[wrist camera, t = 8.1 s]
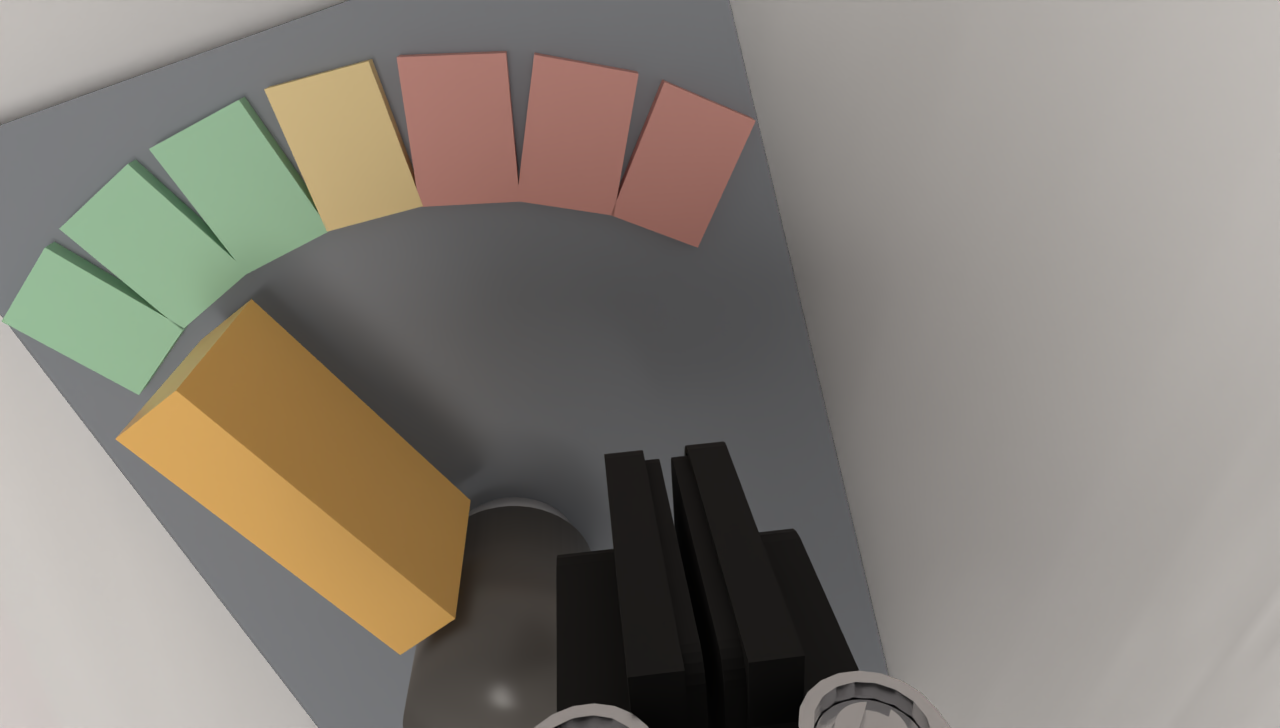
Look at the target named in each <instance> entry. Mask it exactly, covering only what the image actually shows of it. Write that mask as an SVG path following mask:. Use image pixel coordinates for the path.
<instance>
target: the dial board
mask: <svg viewBox="0 0 1280 728" xmlns="http://www.w3.org/2000/svg"><path fill="white" fill-rule="evenodd" d="M251 299H252V300H253V301H254V302H255V303H257V304H258V305H259V306H260V307H261V308H262V309H263V310H264V311H265V312H266V313H267V314H268V315H270V316H271V317H272V318H273V319H274V320H275V321H276V322H277V323H278V324H279V325H280V326H282V327H283V328H284V329H285V330H286V331H287V332H288V333H289V334H290V335H291V336H292V337H294V338H295V339H296V340H297V341H298V342H299V343H300V344H301V345H302V346H303V347H304V348H305V349H307V350H308V351H309V352H310V353H311V354H312V355H313V356H314V357H315V358H316V359H317V360H319V361H320V362H321V363H322V364H323V365H324V366H325V367H326V368H327V369H328V370H329V371H330V372H332V373H333V374H334V375H335V376H336V377H337V378H338V379H339V380H340V381H341V382H342V383H344V384H345V385H346V386H347V387H348V388H349V389H350V390H351V391H352V392H353V393H354V394H355V395H357V396H358V397H359V398H360V399H361V400H362V401H363V402H364V403H365V404H366V405H367V406H369V407H370V408H371V409H372V410H373V411H374V412H375V413H376V414H377V415H378V416H379V417H380V418H382V419H383V420H384V421H385V422H386V423H387V424H388V425H389V426H390V427H391V428H392V429H394V430H395V431H396V432H397V433H398V434H399V435H400V436H401V437H402V438H403V439H404V440H406V441H407V442H408V443H409V444H410V445H411V446H412V447H413V448H414V449H415V450H416V451H417V452H419V453H420V454H421V455H422V456H423V457H424V458H425V459H426V460H427V461H428V462H429V463H431V464H432V465H433V466H434V467H435V468H436V469H437V470H438V471H439V472H440V473H441V474H442V475H444V476H445V477H446V478H447V479H448V480H449V481H450V482H451V483H452V484H453V485H454V486H456V487H457V488H458V489H459V490H460V491H461V492H462V493H463V494H464V495H465V496H466V497H467V498H469V499H470V500H471V501H470V509H469V516H470V515H473V514H475V513H477V512H480V511H483V510H487V509H491V508H496V507H504V506H524V507H532V508H537V509H541V510H544V511H547V512H550V513H553V514H555V515H557V516H559V517H561V518H563V519H564V520H566V521H567V522H569V523H570V524H571V525H572V526H574V527H575V528H576V529H577V530H578V531H579V532H580V533H581V535H582V536H583V537H584V539H585V540H586V542H587V543H588V546H589V548H590V550H591V551H598V550H607V549H613V540H612V530H611V520H610V509H609V499H608V489H607V479H606V469H605V459H604V454H609V453H618V452H628V451H637V450H643V453H644V458H645V460H651V459H659V460H660V463H661V468H662V473H663V477H664V482H665V486H666V491H667V495H668V500H669V504H670V509H671V513H672V518H673V522H674V510H673V493H672V475H671V457H679V456H684V451H685V445H694V444H703V443H713V442H722V441H724V442H725V443H726V445H727V448H728V451H729V453H730V456H731V459H732V461H733V464H734V467H735V470H736V472H737V475H738V478H739V480H740V483H741V486H742V488H743V491H744V494H745V496H746V499H747V502H748V504H749V507H750V510H751V512H752V515H753V518H754V520H755V523H756V526H757V529H758V531H759V532H766V531H774V530H783V529H792V528H793V529H794V530H796V531H797V533H798V535H799V536H800V538H801V540H802V543H803V545H804V547H805V549H806V552H807V554H808V556H809V558H810V561H811V563H812V565H813V567H814V570H815V572H816V574H817V576H818V579H819V581H820V583H821V585H822V588H823V590H824V592H825V594H826V597H827V599H828V601H829V603H830V606H831V608H832V610H833V612H834V615H835V617H836V619H837V621H838V624H839V626H840V628H841V630H842V633H843V635H844V637H845V639H846V642H847V644H848V646H849V648H850V651H851V653H852V655H853V657H854V660H855V662H856V664H857V666H858V669H859V671H866V672H874V673H882V674H885V675H887V676H889V674H888V670H887V666H886V661H885V657H884V653H883V649H882V645H881V640H880V636H879V632H878V628H877V623H876V619H875V615H874V611H873V606H872V602H871V598H870V594H869V590H868V585H867V581H866V577H865V573H864V568H863V564H862V560H861V556H860V551H859V547H858V543H857V539H856V535H855V530H854V526H853V522H852V518H851V513H850V509H849V505H848V501H847V496H846V492H845V488H844V484H843V480H842V475H841V471H840V467H839V463H838V458H837V454H836V450H835V446H834V442H833V437H832V433H831V429H830V425H829V420H828V416H827V412H826V408H825V403H824V399H823V395H822V391H821V387H820V382H819V378H818V374H817V370H816V365H815V361H814V357H813V353H812V348H811V344H810V340H809V336H808V332H807V327H806V323H805V319H804V315H803V310H802V306H801V302H800V298H799V294H798V289H797V285H796V281H795V277H794V272H793V268H792V264H791V260H790V255H789V251H788V247H787V243H786V239H785V234H784V230H783V226H782V222H781V217H780V213H779V209H778V205H777V200H776V196H775V192H774V188H773V184H772V179H771V175H770V171H769V167H768V162H767V158H766V154H765V150H764V146H763V141H762V137H761V133H760V129H759V124H758V120H757V116H756V112H755V107H754V103H753V99H752V95H751V91H750V86H749V82H748V78H747V74H746V69H745V65H744V61H743V57H742V52H741V48H740V44H739V40H738V36H737V31H736V27H735V23H734V19H733V14H732V10H731V6H730V2H729V0H349V1H346V2H343V3H340V4H338V5H335V6H332V7H329V8H326V9H324V10H321V11H318V12H315V13H312V14H310V15H307V16H304V17H301V18H298V19H296V20H293V21H290V22H287V23H284V24H282V25H279V26H276V27H273V28H270V29H268V30H265V31H262V32H259V33H256V34H254V35H251V36H248V37H245V38H243V39H240V40H237V41H234V42H231V43H229V44H226V45H223V46H220V47H217V48H215V49H212V50H209V51H206V52H203V53H201V54H198V55H195V56H192V57H189V58H187V59H184V60H181V61H178V62H175V63H173V64H170V65H167V66H164V67H161V68H159V69H156V70H153V71H150V72H147V73H145V74H142V75H139V76H136V77H133V78H131V79H128V80H125V81H122V82H119V83H117V84H114V85H111V86H108V87H106V88H103V89H100V90H97V91H94V92H92V93H89V94H86V95H83V96H80V97H78V98H75V99H72V100H69V101H66V102H64V103H61V104H58V105H55V106H52V107H50V108H47V109H44V110H41V111H38V112H36V113H33V114H30V115H27V116H24V117H22V118H19V119H16V120H13V121H10V122H8V123H5V124H2V125H0V315H1V316H2V317H3V320H2V322H3V323H5V324H7V325H9V327H10V328H11V329H12V330H13V332H14V333H15V334H16V336H17V337H18V338H19V339H20V341H21V342H22V343H23V345H24V346H25V347H26V349H27V350H28V351H29V352H30V354H31V355H32V356H33V358H34V359H35V360H36V362H37V363H38V364H39V365H40V367H41V368H42V369H43V371H44V372H45V373H46V375H47V376H48V377H49V378H50V380H51V381H52V382H53V384H54V385H55V386H56V388H57V389H58V390H59V391H60V393H61V394H62V395H63V397H64V398H65V399H66V401H67V402H68V403H69V404H70V406H71V407H72V408H73V410H74V411H75V412H76V414H77V415H78V416H79V417H80V419H81V420H82V421H83V423H84V424H85V425H86V427H87V428H88V429H89V430H90V432H91V433H92V434H93V436H94V437H95V438H96V440H97V441H98V442H99V443H100V445H101V446H102V447H103V449H104V450H105V451H106V453H107V454H108V455H109V456H110V458H111V459H112V460H113V462H114V463H115V464H116V466H117V467H118V468H119V469H120V471H121V472H122V473H123V475H124V476H125V477H126V479H127V480H128V481H129V482H130V484H131V485H132V486H133V488H134V489H135V490H136V491H137V493H138V494H139V495H140V497H141V498H142V499H143V501H144V502H145V503H146V504H147V506H148V507H149V508H150V510H151V511H152V512H153V514H154V515H155V516H156V517H157V519H158V520H159V521H160V523H161V524H162V525H163V527H164V528H165V529H166V530H167V532H168V533H169V534H170V536H171V537H172V538H173V540H174V541H175V542H176V543H177V545H178V546H179V547H180V549H181V550H182V551H183V553H184V554H185V555H186V556H187V558H188V559H189V560H190V562H191V563H192V564H193V566H194V567H195V568H196V569H197V571H198V572H199V573H200V575H201V576H202V577H203V579H204V580H205V581H206V582H207V584H208V585H209V586H210V588H211V589H212V590H213V592H214V593H215V594H216V595H217V597H218V598H219V599H220V601H221V602H222V603H223V605H224V606H225V607H226V608H227V610H228V611H229V612H230V614H231V615H232V616H233V618H234V619H235V620H236V621H237V623H238V624H239V625H240V627H241V628H242V629H243V631H244V632H245V633H246V634H247V636H248V637H249V638H250V640H251V641H252V642H253V643H254V645H255V646H256V647H257V649H258V650H259V651H260V653H261V654H262V655H263V656H264V658H265V659H266V660H267V662H268V663H269V664H270V666H271V667H272V668H273V669H274V671H275V672H276V673H277V675H278V676H279V677H280V679H281V680H282V681H283V682H284V684H285V685H286V686H287V688H288V689H289V690H290V692H291V693H292V694H293V695H294V697H295V698H296V699H297V701H298V702H299V703H300V705H301V706H302V707H303V708H304V710H305V711H306V712H307V714H308V715H309V716H310V718H311V719H312V720H313V721H314V723H315V724H316V725H317V727H318V728H403V716H404V709H405V704H406V698H407V693H408V687H409V682H410V676H411V671H412V665H413V660H414V654H415V649H416V645H415V646H413V647H412V648H410V649H409V650H407V651H406V652H404V653H403V654H401V655H399V654H398V653H397V652H396V651H394V650H393V649H392V648H390V647H389V646H388V645H386V644H385V643H384V642H382V641H381V640H380V639H378V638H377V637H376V636H374V635H373V634H372V633H370V632H369V631H368V630H366V629H365V628H364V627H363V626H361V625H360V624H359V623H357V622H356V621H355V620H353V619H352V618H351V617H349V616H348V615H347V614H345V613H344V612H343V611H341V610H340V609H339V608H337V607H336V606H335V605H333V604H332V603H331V602H330V601H328V600H327V599H326V598H324V597H323V596H322V595H320V594H319V593H318V592H316V591H315V590H314V589H312V588H311V587H310V586H308V585H307V584H306V583H304V582H303V581H302V580H300V579H299V578H298V577H297V576H295V575H294V574H293V573H291V572H290V571H289V570H287V569H286V568H285V567H283V566H282V565H281V564H279V563H278V562H277V561H275V560H274V559H273V558H271V557H270V556H269V555H267V554H266V553H265V552H264V551H262V550H261V549H260V548H258V547H257V546H256V545H254V544H253V543H252V542H250V541H249V540H248V539H246V538H245V537H244V536H242V535H241V534H240V533H238V532H237V531H236V530H234V529H233V528H232V527H231V526H229V525H228V524H227V523H225V522H224V521H223V520H221V519H220V518H219V517H217V516H216V515H215V514H213V513H212V512H211V511H209V510H208V509H207V508H205V507H204V506H203V505H201V504H200V503H199V502H198V501H196V500H195V499H194V498H192V497H191V496H190V495H188V494H187V493H186V492H184V491H183V490H182V489H180V488H179V487H178V486H176V485H175V484H174V483H172V482H171V481H170V480H168V479H167V478H166V477H165V476H163V475H162V474H161V473H159V472H158V471H157V470H155V469H154V468H153V467H151V466H150V465H149V464H147V463H146V462H145V461H143V460H142V459H141V458H139V457H138V456H137V455H135V454H134V453H133V452H132V451H130V450H129V449H128V448H126V447H125V446H124V445H122V444H121V443H120V442H118V441H117V440H116V437H117V436H118V435H119V434H120V433H121V432H122V431H123V429H124V428H125V427H126V426H127V425H128V424H129V422H130V421H131V420H132V419H133V418H134V417H135V416H136V414H137V413H138V412H139V411H140V410H141V409H142V408H143V406H144V405H145V404H146V403H147V402H148V401H149V399H150V398H151V397H152V396H153V395H154V394H155V393H156V391H157V390H158V389H159V388H160V387H161V386H162V384H163V383H164V382H165V381H166V380H167V379H168V378H169V376H170V375H171V374H172V373H173V372H174V371H175V370H176V368H177V367H178V366H179V365H180V364H181V363H182V361H183V360H184V359H185V358H186V357H187V356H188V355H189V353H190V352H191V351H192V350H193V349H194V348H195V347H196V345H197V344H198V343H199V342H200V341H201V340H202V339H203V338H204V337H205V336H206V335H208V334H209V333H210V332H211V331H213V330H214V329H215V328H216V327H218V326H219V325H220V324H221V323H222V322H224V321H225V320H226V319H227V318H229V317H230V316H231V315H232V314H234V313H235V312H236V311H237V310H238V309H240V308H241V307H242V306H243V305H245V304H246V303H247V302H248V301H250V300H251Z"/></svg>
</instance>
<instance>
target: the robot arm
mask: <svg viewBox="0 0 1280 728" xmlns="http://www.w3.org/2000/svg"><path fill="white" fill-rule="evenodd" d="M604 459H605V469H606V479H607V489H608V499H609V509H610V520H611V530H612V540H613V549H607V550H598V551H589V552H580V553H571V554H562V555H557V561H556V628H557V713H554V714H552V715H551V716H549V717H548V718H547V719H545V720H544V721H543V722H541V723H540V724H538V725H537V726H536V727H534V728H951V727H950V726H949V724H948V723H947V722H946V720H945V719H944V718H943V716H942V715H941V713H940V712H939V711H938V709H937V708H936V707H935V706H934V705H933V704H932V703H931V702H930V701H929V700H928V699H927V698H926V697H925V696H924V695H923V694H922V693H921V692H919V691H918V690H916V689H915V688H913V687H912V686H910V685H908V684H907V683H905V682H904V681H901V680H899V679H896V678H893V677H890V676H887V675H885V674H882V673H874V672H866V671H859V669H858V666H857V664H856V662H855V660H854V657H853V655H852V653H851V651H850V648H849V646H848V644H847V642H846V639H845V637H844V635H843V633H842V630H841V628H840V626H839V624H838V621H837V619H836V617H835V615H834V612H833V610H832V608H831V606H830V603H829V601H828V599H827V597H826V594H825V592H824V590H823V588H822V585H821V583H820V581H819V579H818V576H817V574H816V572H815V570H814V567H813V565H812V563H811V561H810V558H809V556H808V554H807V552H806V549H805V547H804V545H803V543H802V540H801V538H800V536H799V535H798V533H797V531H796V530H794V529H793V528H792V529H783V530H774V531H766V532H759V531H758V529H757V526H756V523H755V520H754V518H753V515H752V512H751V510H750V507H749V504H748V502H747V499H746V496H745V494H744V491H743V488H742V486H741V483H740V480H739V478H738V475H737V472H736V470H735V467H734V464H733V461H732V459H731V456H730V453H729V451H728V448H727V445H726V443H725V442H724V441H722V442H713V443H703V444H694V445H685V451H684V456H679V457H671V475H672V493H673V510H674V522H673V518H672V513H671V509H670V504H669V500H668V495H667V491H666V486H665V482H664V477H663V473H662V468H661V463H660V460H659V459H651V460H645V458H644V453H643V450H637V451H628V452H618V453H609V454H604Z"/></svg>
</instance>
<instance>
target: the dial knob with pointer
mask: <svg viewBox="0 0 1280 728" xmlns="http://www.w3.org/2000/svg"><path fill="white" fill-rule="evenodd" d="M116 440H117V441H118V442H120V443H121V444H122V445H124V446H125V447H126V448H128V449H129V450H130V451H132V452H133V453H134V454H135V455H137V456H138V457H139V458H141V459H142V460H143V461H145V462H146V463H147V464H149V465H150V466H151V467H153V468H154V469H155V470H157V471H158V472H159V473H161V474H162V475H163V476H165V477H166V478H167V479H168V480H170V481H171V482H172V483H174V484H175V485H176V486H178V487H179V488H180V489H182V490H183V491H184V492H186V493H187V494H188V495H190V496H191V497H192V498H194V499H195V500H196V501H198V502H199V503H200V504H201V505H203V506H204V507H205V508H207V509H208V510H209V511H211V512H212V513H213V514H215V515H216V516H217V517H219V518H220V519H221V520H223V521H224V522H225V523H227V524H228V525H229V526H231V527H232V528H233V529H234V530H236V531H237V532H238V533H240V534H241V535H242V536H244V537H245V538H246V539H248V540H249V541H250V542H252V543H253V544H254V545H256V546H257V547H258V548H260V549H261V550H262V551H264V552H265V553H266V554H267V555H269V556H270V557H271V558H273V559H274V560H275V561H277V562H278V563H279V564H281V565H282V566H283V567H285V568H286V569H287V570H289V571H290V572H291V573H293V574H294V575H295V576H297V577H298V578H299V579H300V580H302V581H303V582H304V583H306V584H307V585H308V586H310V587H311V588H312V589H314V590H315V591H316V592H318V593H319V594H320V595H322V596H323V597H324V598H326V599H327V600H328V601H330V602H331V603H332V604H333V605H335V606H336V607H337V608H339V609H340V610H341V611H343V612H344V613H345V614H347V615H348V616H349V617H351V618H352V619H353V620H355V621H356V622H357V623H359V624H360V625H361V626H363V627H364V628H365V629H366V630H368V631H369V632H370V633H372V634H373V635H374V636H376V637H377V638H378V639H380V640H381V641H382V642H384V643H385V644H386V645H388V646H389V647H390V648H392V649H393V650H394V651H396V652H397V653H398V654H399V655H401V654H403V653H404V652H406V651H407V650H409V649H410V648H412V647H413V646H415V645H416V649H415V654H414V660H413V665H412V671H411V676H410V682H409V687H408V693H407V698H406V704H405V709H404V716H403V728H534V727H536V726H537V725H538V724H540V723H541V722H543V721H544V720H545V719H547V718H548V717H549V716H551V715H552V714H554V713H557V628H556V561H557V555H562V554H571V553H580V552H589V551H591V550H590V548H589V546H588V543H587V542H586V540H585V539H584V537H583V536H582V535H581V533H580V532H579V531H578V530H577V529H576V528H575V527H574V526H572V525H571V524H570V523H569V522H567V521H566V520H564V519H563V518H561V517H559V516H557V515H555V514H553V513H550V512H547V511H544V510H541V509H537V508H532V507H524V506H504V507H496V508H491V509H487V510H483V511H480V512H477V513H475V514H473V515H470V516H469V509H470V501H471V500H470V499H469V498H467V497H466V496H465V495H464V494H463V493H462V492H461V491H460V490H459V489H458V488H457V487H456V486H454V485H453V484H452V483H451V482H450V481H449V480H448V479H447V478H446V477H445V476H444V475H442V474H441V473H440V472H439V471H438V470H437V469H436V468H435V467H434V466H433V465H432V464H431V463H429V462H428V461H427V460H426V459H425V458H424V457H423V456H422V455H421V454H420V453H419V452H417V451H416V450H415V449H414V448H413V447H412V446H411V445H410V444H409V443H408V442H407V441H406V440H404V439H403V438H402V437H401V436H400V435H399V434H398V433H397V432H396V431H395V430H394V429H392V428H391V427H390V426H389V425H388V424H387V423H386V422H385V421H384V420H383V419H382V418H380V417H379V416H378V415H377V414H376V413H375V412H374V411H373V410H372V409H371V408H370V407H369V406H367V405H366V404H365V403H364V402H363V401H362V400H361V399H360V398H359V397H358V396H357V395H355V394H354V393H353V392H352V391H351V390H350V389H349V388H348V387H347V386H346V385H345V384H344V383H342V382H341V381H340V380H339V379H338V378H337V377H336V376H335V375H334V374H333V373H332V372H330V371H329V370H328V369H327V368H326V367H325V366H324V365H323V364H322V363H321V362H320V361H319V360H317V359H316V358H315V357H314V356H313V355H312V354H311V353H310V352H309V351H308V350H307V349H305V348H304V347H303V346H302V345H301V344H300V343H299V342H298V341H297V340H296V339H295V338H294V337H292V336H291V335H290V334H289V333H288V332H287V331H286V330H285V329H284V328H283V327H282V326H280V325H279V324H278V323H277V322H276V321H275V320H274V319H273V318H272V317H271V316H270V315H268V314H267V313H266V312H265V311H264V310H263V309H262V308H261V307H260V306H259V305H258V304H257V303H255V302H254V301H253V300H252V299H251V300H250V301H248V302H247V303H246V304H245V305H243V306H242V307H241V308H240V309H238V310H237V311H236V312H235V313H234V314H232V315H231V316H230V317H229V318H227V319H226V320H225V321H224V322H222V323H221V324H220V325H219V326H218V327H216V328H215V329H214V330H213V331H211V332H210V333H209V334H208V335H206V336H205V337H204V338H203V339H202V340H201V341H200V342H199V343H198V344H197V345H196V347H195V348H194V349H193V350H192V351H191V352H190V353H189V355H188V356H187V357H186V358H185V359H184V360H183V361H182V363H181V364H180V365H179V366H178V367H177V368H176V370H175V371H174V372H173V373H172V374H171V375H170V376H169V378H168V379H167V380H166V381H165V382H164V383H163V384H162V386H161V387H160V388H159V389H158V390H157V391H156V393H155V394H154V395H153V396H152V397H151V398H150V399H149V401H148V402H147V403H146V404H145V405H144V406H143V408H142V409H141V410H140V411H139V412H138V413H137V414H136V416H135V417H134V418H133V419H132V420H131V421H130V422H129V424H128V425H127V426H126V427H125V428H124V429H123V431H122V432H121V433H120V434H119V435H118V436H117V437H116Z"/></svg>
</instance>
